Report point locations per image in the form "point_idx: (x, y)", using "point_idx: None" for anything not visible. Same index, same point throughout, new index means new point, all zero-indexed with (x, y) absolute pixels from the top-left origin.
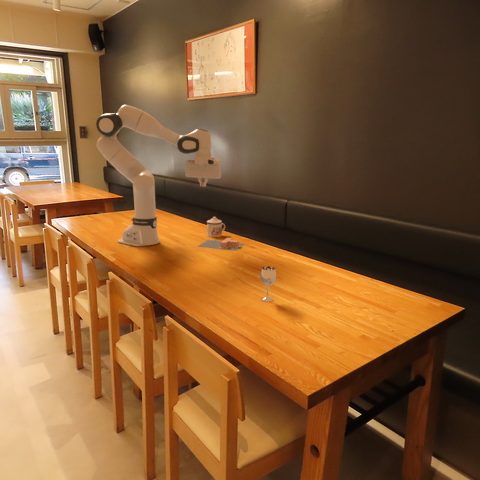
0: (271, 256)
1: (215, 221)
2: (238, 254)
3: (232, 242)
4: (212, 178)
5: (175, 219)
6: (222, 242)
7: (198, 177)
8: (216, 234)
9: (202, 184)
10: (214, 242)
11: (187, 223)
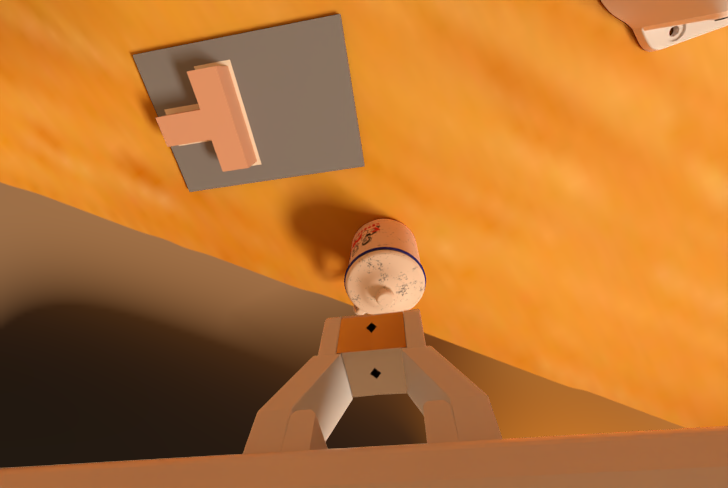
0: None
1: (366, 271)
2: (96, 20)
3: (180, 113)
4: (54, 466)
5: (670, 393)
6: (204, 68)
7: (475, 444)
8: (359, 234)
9: (370, 333)
10: (311, 139)
11: (592, 363)
